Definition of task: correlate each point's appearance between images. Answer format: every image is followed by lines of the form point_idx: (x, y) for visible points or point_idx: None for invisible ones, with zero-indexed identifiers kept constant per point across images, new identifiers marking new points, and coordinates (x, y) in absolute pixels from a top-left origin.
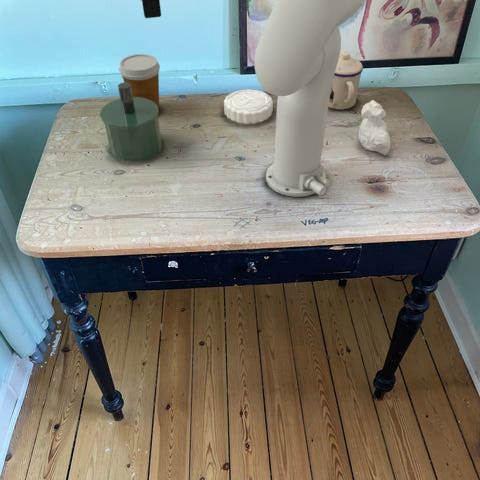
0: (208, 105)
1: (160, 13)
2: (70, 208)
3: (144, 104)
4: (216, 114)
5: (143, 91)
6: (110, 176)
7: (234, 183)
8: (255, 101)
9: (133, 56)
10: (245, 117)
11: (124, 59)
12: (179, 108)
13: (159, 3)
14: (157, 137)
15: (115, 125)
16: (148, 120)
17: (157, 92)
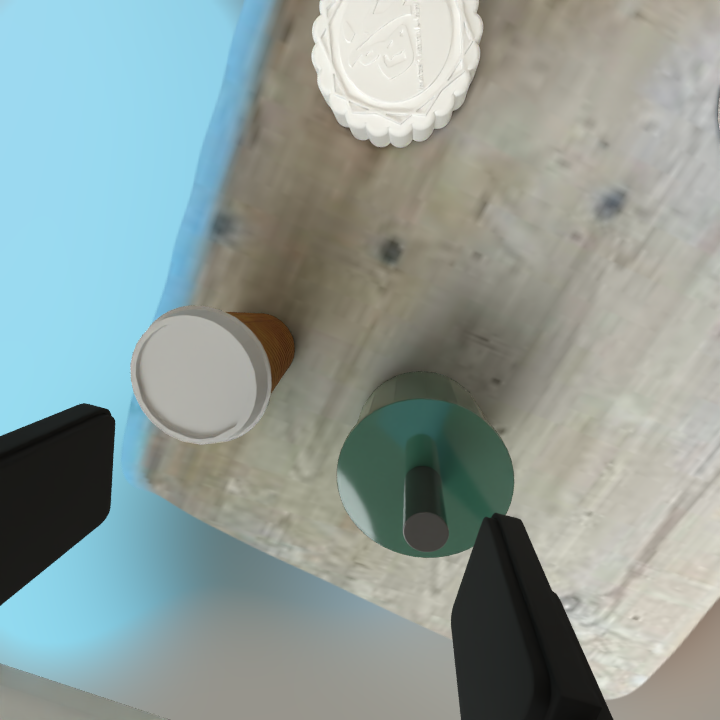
0: (298, 170)
1: (520, 531)
2: None
3: (408, 430)
4: (357, 168)
5: (277, 377)
6: None
7: (707, 272)
8: (419, 17)
9: (138, 378)
10: (463, 96)
11: (154, 415)
12: (280, 258)
13: (549, 594)
14: (475, 404)
15: None
16: (508, 455)
17: (266, 325)
